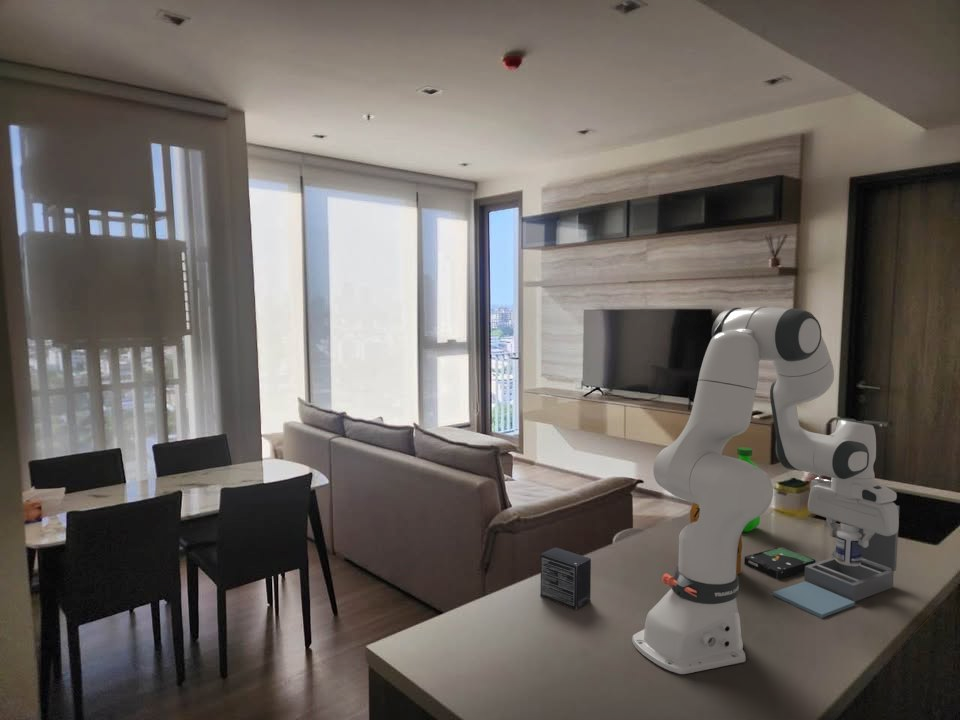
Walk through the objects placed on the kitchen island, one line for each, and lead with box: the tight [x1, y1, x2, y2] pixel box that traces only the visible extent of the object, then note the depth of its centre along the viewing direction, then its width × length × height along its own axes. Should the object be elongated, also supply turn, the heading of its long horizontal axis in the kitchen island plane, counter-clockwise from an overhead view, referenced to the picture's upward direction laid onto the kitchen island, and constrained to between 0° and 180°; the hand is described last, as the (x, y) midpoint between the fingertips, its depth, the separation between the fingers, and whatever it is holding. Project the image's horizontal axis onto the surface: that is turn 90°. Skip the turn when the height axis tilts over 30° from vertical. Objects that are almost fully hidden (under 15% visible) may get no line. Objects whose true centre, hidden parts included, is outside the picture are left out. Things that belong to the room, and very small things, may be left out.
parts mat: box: [772, 581, 856, 619], centre depth 141 cm, size 12×12×1 cm
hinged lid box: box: [803, 504, 900, 603], centre depth 148 cm, size 17×13×20 cm
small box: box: [540, 547, 592, 611], centre depth 142 cm, size 11×6×10 cm, turn 47°
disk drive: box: [743, 546, 817, 580], centre depth 159 cm, size 10×3×15 cm
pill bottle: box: [835, 522, 862, 566], centre depth 147 cm, size 5×5×10 cm
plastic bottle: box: [736, 446, 761, 533], centre depth 185 cm, size 10×10×25 cm
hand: (848, 541), depth 147 cm, fingers closed on pill bottle, 5 cm apart
